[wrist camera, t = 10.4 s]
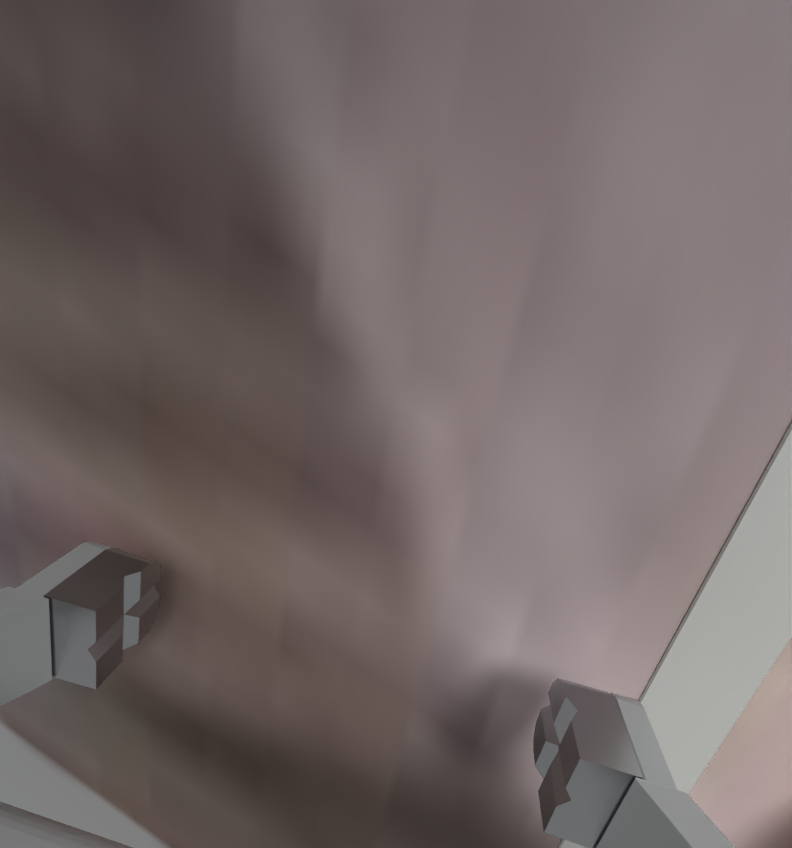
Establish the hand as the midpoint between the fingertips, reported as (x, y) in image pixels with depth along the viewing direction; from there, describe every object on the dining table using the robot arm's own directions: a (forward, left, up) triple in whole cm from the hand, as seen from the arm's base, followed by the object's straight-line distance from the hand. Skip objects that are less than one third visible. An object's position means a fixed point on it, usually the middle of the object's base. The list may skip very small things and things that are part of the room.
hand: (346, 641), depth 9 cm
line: (0, +8, -2) cm, 8 cm away
